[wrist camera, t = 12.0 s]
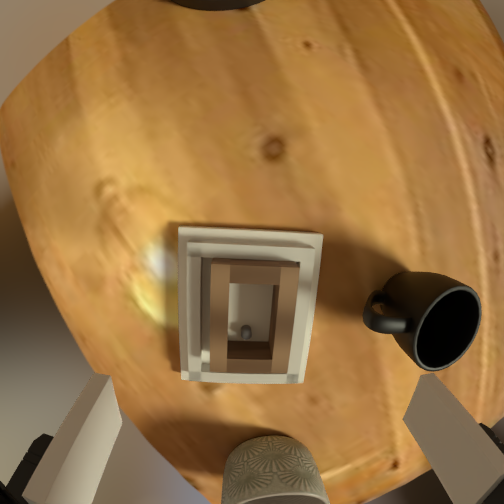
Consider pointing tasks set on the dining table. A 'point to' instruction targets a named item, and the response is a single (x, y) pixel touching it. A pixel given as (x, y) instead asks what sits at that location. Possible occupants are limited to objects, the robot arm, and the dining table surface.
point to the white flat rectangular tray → (243, 297)
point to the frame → (281, 322)
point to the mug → (426, 317)
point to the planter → (272, 473)
